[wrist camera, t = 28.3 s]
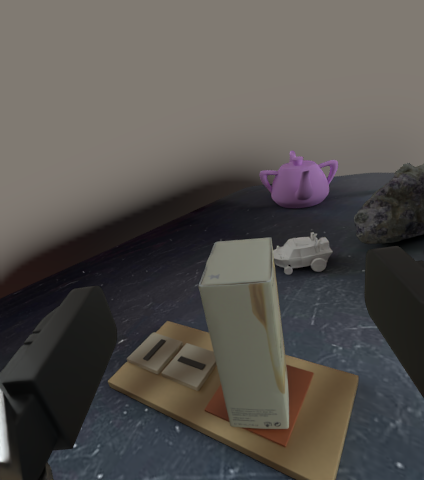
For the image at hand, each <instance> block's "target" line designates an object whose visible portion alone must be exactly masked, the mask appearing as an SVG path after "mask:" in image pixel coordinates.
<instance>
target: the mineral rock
mask: <svg viewBox="0 0 424 480" xmlns="http://www.w3.org/2000/svg"><path fill="white" fill-rule="evenodd" d="M354 222H355V225H356V229H357V233H356V236H357V237H358V238H359V240H360V241H361V242H363V243H366V244H377V243H382V244H385V243H393V242H398V241H399V242H400V241H401V240H404V239H408V238H411V237H415V236H418V235H422V234H424V164H423V165H420V166H417V167H414V166H412V165H411V164H410V163H407V164H404V165H403V166H402V167H401V168H400V169H399V170H398V171H396V172H395V175H394V177H393V178H392V179H391V180H390V182H389V183H387V184H386V185H385V186H383V187H382V188H380V189H379V190H378V191H377V192H375V193H374V194H373V195H372V197H371V199H369V200H368V201H366V202H365V203H364V205H363V207H362V209H360V210H359V212H358V213H357V214H356V215H355V217H354Z"/></svg>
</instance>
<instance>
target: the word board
mask: <svg viewBox="0 0 424 480" xmlns="http://www.w3.org/2000/svg"><path fill="white" fill-rule="evenodd" d="M285 359H286V368H287V379H288V392H289V428H288V429H259V428H244V427H232V426H231V425H230V421H229V417H228V413H227V408H226V404H225V399H224V395H223V390H222V386H221V382H220V377H219V373H218V369H217V364H216V360H215V355H214V351H213V347H212V343H211V338H210V334H209V333H208V332H204V331H201V330H197V329H194V328H190V327H187V326H183V325H180V324H176V323H173V322H169V321H167V322H166V323H165V324H164V325H163V326H162V327H161V328H160V329H159V330H158V331H157V332H156V333H154V332H153V333H152V334H151V335H150V336H149V337H148V338H147V339H146V340H145V341H144V342H143V343H142V344H141V345H140V346H139V347H138V348H137V349H136V350H135V351H134V352H133V353H132V354H131V355H130V356H129V357H128V358H127V362H126V363H125V364H124V365H123V366H122V367H121V368H120V369H119V370H118V371H117V372H116V373H115V374H114V375H113V376H112V377H111V378H110V379H109V380H108V383H109V386H110V387H111V388H113V389H115V390H117V391H119V392H121V393H123V394H125V395H127V396H129V397H131V398H133V399H135V400H137V401H139V402H141V403H143V404H145V405H147V406H149V407H151V408H153V409H155V410H157V411H159V412H161V413H163V414H165V415H167V416H169V417H171V418H173V419H175V420H177V421H179V422H181V423H183V424H185V425H187V426H189V427H191V428H193V429H195V430H197V431H199V432H201V433H203V434H205V435H207V436H209V437H211V438H213V439H215V440H217V441H219V442H221V443H223V444H225V445H228V446H230V447H232V448H234V449H236V450H238V451H240V452H242V453H244V454H246V455H248V456H250V457H252V458H254V459H256V460H258V461H260V462H262V463H264V464H266V465H268V466H270V467H272V468H274V469H276V470H278V471H280V472H282V473H284V474H286V475H288V476H290V477H292V478H294V479H296V480H335V479H336V475H337V471H338V467H339V462H340V458H341V454H342V450H343V446H344V441H345V437H346V433H347V429H348V424H349V420H350V416H351V412H352V407H353V403H354V399H355V395H356V390H357V386H358V376H357V375H354V374H350V373H347V372H343V371H340V370H336V369H333V368H329V367H326V366H322V365H319V364H316V363H312V362H309V361H305V360H302V359H298V358H295V357H291V356H288V355H285Z"/></svg>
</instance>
